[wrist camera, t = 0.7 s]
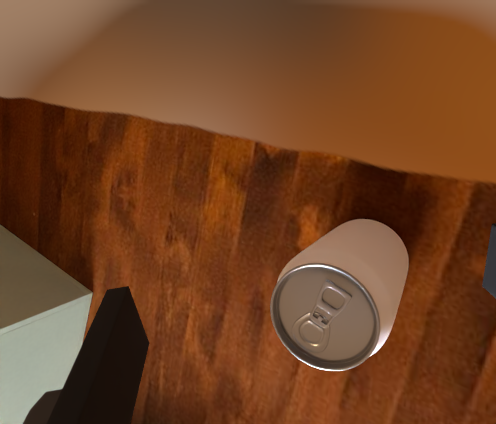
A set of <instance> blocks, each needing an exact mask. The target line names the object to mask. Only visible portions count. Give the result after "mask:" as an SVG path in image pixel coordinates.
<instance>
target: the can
mask: <svg viewBox="0 0 496 424" xmlns="http://www.w3.org/2000/svg"><path fill="white" fill-rule="evenodd" d="M408 267H409V259H408V253H407V250H406V247H405V245H404V243H403V241H402V240H401V238H400V237H399V236H398V235H397V234H396V233H395V232H394V231H393V230H392V229H391V228H389V227H388V226H386V225H384V224H382V223H380V222H378V221H374V220H369V219H356V220H351V221H348V222H345V223H343V224H341V225H340V226H338V227H336V228H335V229H333V230H332V231H330V232H329V233H328V234H326V235H325V236H323V237H322V238H320V239H319V240H317V241H316V242H315V243H313V244H312V245H310V246H309V247H308V248H306V249H305V250H303V251H302V252H301V253H299V254H298V255H297V256H295V257H294V258H293V259H292V260H291V261H290V262H289V263H288V264H287V265H286V266H285V268H284V269H283V270H282V272H281V274H280V276H279V278H278V281H277V284H276V286H275V288H274V290H273V293H272V297H271V305H270V310H271V318H272V322H273V325H274V328H275V331H276V333H277V335H278V336H279V338H280V340H281V341H282V343H283V344H284V345H285V347H286V348H287V349H288V350H289V351H290V352H291V353H292V354H293V355H294V356H296V357H297V358H298V359H300V360H301V361H303V362H305V363H306V364H308V365H310V366H313V367H315V368H318V369H322V370H328V371H342V370H348V369H351V368H354V367H356V366H358V365H360V364H361V363H363V362H364V361H365V360H366V359H367V358H368V357H370V356H371V355H373V354H374V353H375V352H377V351H378V350H379V349H380V348H381V347H382V345H383V344H384V343H385V341H386V339H387V338H388V336H389V334H390V331H391V329H392V326H393V323H394V320H395V316H396V313H397V309H398V306H399V303H400V299H401V295H402V292H403V288H404V285H405V281H406V277H407V273H408Z"/></svg>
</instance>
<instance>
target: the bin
mask: <svg viewBox="0 0 496 424" xmlns="http://www.w3.org/2000/svg"><path fill="white" fill-rule="evenodd" d="M92 294H93V292H91V291H90V290H89V289H87V288H86V287H85V286H83V285H82V284H81V283H79V282H78V281H76V280H75V279H74V278H72V277H71V276H70V275H68V274H67V273H66V272H64V271H63V270H61V269H60V268H59V267H57V266H56V265H55V264H53V263H52V262H51V261H49V260H48V259H46V258H45V257H44V256H42V255H41V254H40V253H38V252H37V251H36V250H34V249H33V248H31V247H30V246H29V245H27V244H26V243H25V242H23V241H22V240H21V239H19V238H18V237H16V236H15V235H14V234H12V233H11V232H10V231H8V230H7V229H6V228H4V227H3V226H1V225H0V424H23V422H24V420H25V418H26V416H27V414H28V412H29V411H30V409H31V408H32V407H33V406H34V405H35V403H36V402H37V401H38V400H39V399H40V398H41V397H42V396H43V394H44V393H45V392H48V391H54V390H60V389H62V388H63V386H64V384H65V382H66V380H67V377H68V375H69V373H70V371H71V369H72V366H73V364H74V362H75V360H76V358H77V355H78V353H79V351H80V349H81V346H82V343H83V338H84V333H85V328H86V323H87V319H88V314H89V309H90V304H91V299H92Z"/></svg>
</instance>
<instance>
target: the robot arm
mask: <svg viewBox="0 0 496 424" xmlns="http://www.w3.org/2000/svg"><path fill="white" fill-rule="evenodd" d="M482 286H483V287H484V288H485V289H486V290H487V291H488V292H489V293H490V294H492V295H493V296H494V297H495V298H496V223H494V224H492V227H491V234H490V240H489V247H488V253H487V259H486V266H485V272H484V279H483V285H482ZM148 346H149V341H148V339H147V336H146V333H145V330H144V328H143V325H142V322H141V319H140V317H139V314H138V311H137V308H136V306H135V303H134V300H133V297H132V295H131V292H130V289H129V287H128V286H127V287H121V288H115V289H109V290H107V291H106V293H105V296H104V298H103V300H102V302H101V305H100V307H99V309H98V311H97V313H96V316H95V318H94V320H93V322H92V324H91V327H90V329H89V331H88V333H87V335H86V338H85V340H84V342H83V344H82V346H81V349H80V351H79V353H78V355H77V358H76V360H75V362H74V364H73V366H72V369H71V371H70V373H69V375H68V377H67V380H66V382H65V384H64V386H63V388H62V389H60V390H54V391H48V392H45V393H44V394H43V396H42V397H41V398H40V399H39V400H38V401H37V402H36V403H35V405H34V406H33V407H32V408H31V409H30V411H29V412H28V414H27V416H26V418H25V420H24V422H23V424H131V420H132V415H133V411H134V407H135V403H136V398H137V394H138V390H139V385H140V381H141V377H142V372H143V368H144V364H145V359H146V355H147V351H148Z"/></svg>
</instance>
